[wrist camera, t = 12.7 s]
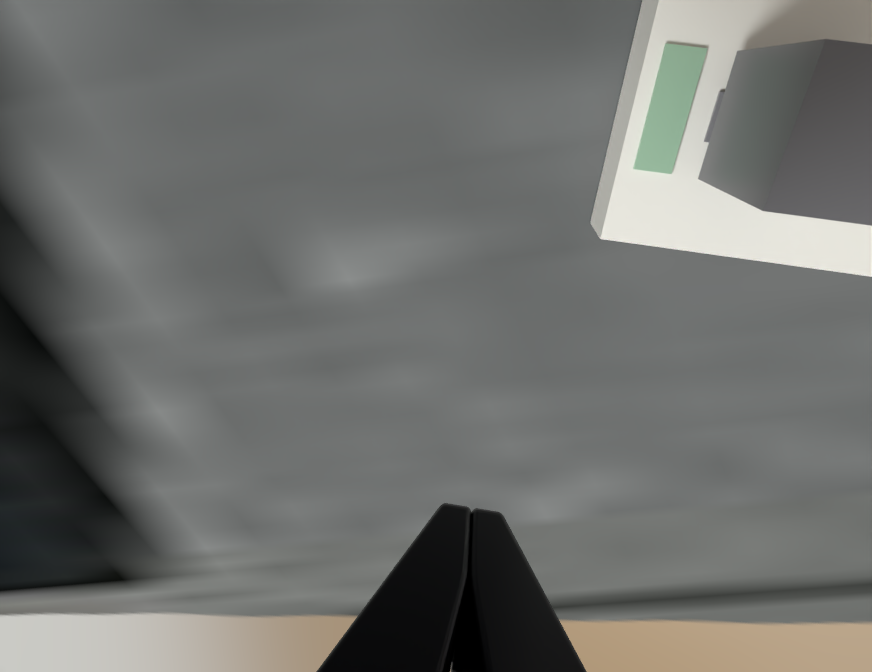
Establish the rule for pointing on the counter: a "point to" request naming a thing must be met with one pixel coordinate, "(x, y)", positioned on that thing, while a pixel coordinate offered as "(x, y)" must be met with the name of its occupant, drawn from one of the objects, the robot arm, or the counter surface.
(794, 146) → the switch
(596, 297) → the counter surface
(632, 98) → the breaker panel
